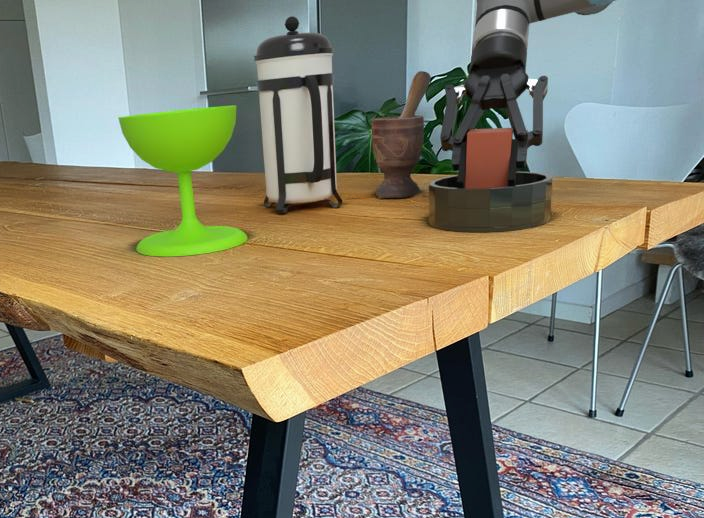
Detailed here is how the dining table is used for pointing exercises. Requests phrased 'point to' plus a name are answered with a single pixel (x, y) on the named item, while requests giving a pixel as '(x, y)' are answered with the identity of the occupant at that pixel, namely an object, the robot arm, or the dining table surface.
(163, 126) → the wineglass
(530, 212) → the bowl
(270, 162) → the coffee press
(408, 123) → the mortar and pestle
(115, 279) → the dining table surface
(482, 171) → the block
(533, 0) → the robot arm
